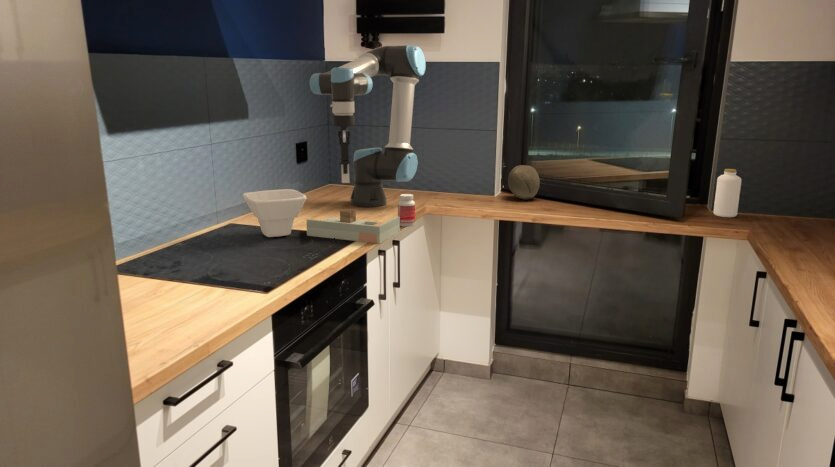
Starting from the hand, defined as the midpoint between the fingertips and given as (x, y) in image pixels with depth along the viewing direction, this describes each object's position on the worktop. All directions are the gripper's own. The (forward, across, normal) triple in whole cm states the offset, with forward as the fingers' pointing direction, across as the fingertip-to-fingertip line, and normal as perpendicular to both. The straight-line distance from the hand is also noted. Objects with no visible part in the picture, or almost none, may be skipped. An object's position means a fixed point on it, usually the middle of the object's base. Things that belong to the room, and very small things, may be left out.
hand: (345, 182), depth 220 cm
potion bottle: (+17, -3, +146) cm, 147 cm away
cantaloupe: (+17, -44, +77) cm, 90 cm away
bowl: (+16, +11, -24) cm, 30 cm away
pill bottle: (+16, 0, +21) cm, 27 cm away
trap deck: (+16, +11, +2) cm, 20 cm away
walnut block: (+13, +5, 0) cm, 14 cm away
